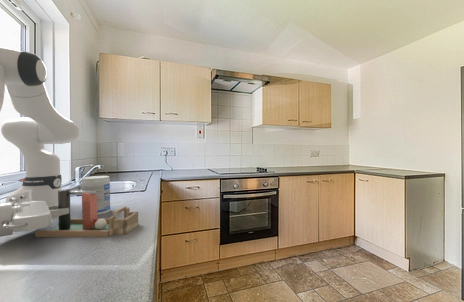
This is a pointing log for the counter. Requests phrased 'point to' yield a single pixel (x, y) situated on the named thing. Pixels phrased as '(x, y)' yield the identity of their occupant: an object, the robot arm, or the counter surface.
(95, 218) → the pillars with crossbar
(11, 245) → the counter surface
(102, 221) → the ball
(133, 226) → the wooden frame
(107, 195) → the supplement tub
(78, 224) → the tray
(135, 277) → the counter surface
